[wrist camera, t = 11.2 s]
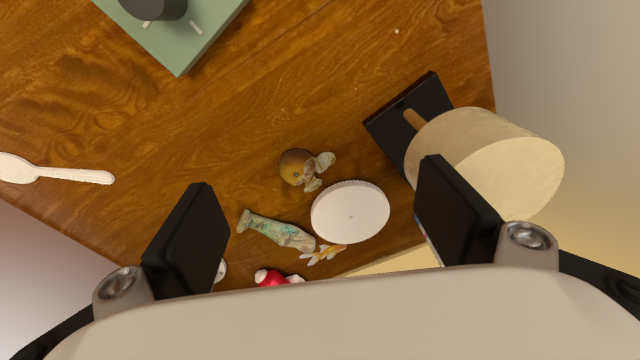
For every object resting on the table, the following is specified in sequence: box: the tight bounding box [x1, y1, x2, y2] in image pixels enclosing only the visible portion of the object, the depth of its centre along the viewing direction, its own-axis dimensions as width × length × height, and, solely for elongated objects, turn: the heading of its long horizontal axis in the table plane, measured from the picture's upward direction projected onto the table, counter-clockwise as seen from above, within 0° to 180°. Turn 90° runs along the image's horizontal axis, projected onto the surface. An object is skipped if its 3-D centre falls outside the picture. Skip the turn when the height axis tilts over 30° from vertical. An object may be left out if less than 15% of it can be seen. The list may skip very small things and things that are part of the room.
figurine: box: [236, 209, 316, 254], centre depth 45 cm, size 6×15×4 cm, turn 51°
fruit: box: [278, 149, 336, 192], centre depth 38 cm, size 8×8×4 cm
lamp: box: [403, 107, 564, 222], centre depth 25 cm, size 9×9×18 cm
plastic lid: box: [311, 180, 390, 244], centre depth 44 cm, size 14×14×2 cm
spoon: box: [0, 152, 115, 184], centre depth 37 cm, size 5×18×1 cm, turn 80°
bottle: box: [255, 269, 291, 287], centre depth 53 cm, size 5×5×20 cm
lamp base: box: [363, 71, 454, 186], centre depth 36 cm, size 15×11×4 cm
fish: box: [299, 244, 347, 266], centre depth 52 cm, size 10×1×5 cm
